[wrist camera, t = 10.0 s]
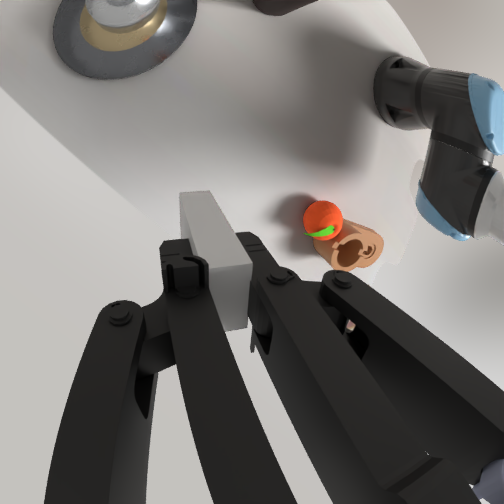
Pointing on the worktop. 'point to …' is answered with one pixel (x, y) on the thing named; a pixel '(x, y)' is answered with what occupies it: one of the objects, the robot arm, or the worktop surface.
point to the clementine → (322, 220)
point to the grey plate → (120, 40)
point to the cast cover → (122, 14)
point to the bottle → (280, 6)
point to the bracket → (351, 247)
